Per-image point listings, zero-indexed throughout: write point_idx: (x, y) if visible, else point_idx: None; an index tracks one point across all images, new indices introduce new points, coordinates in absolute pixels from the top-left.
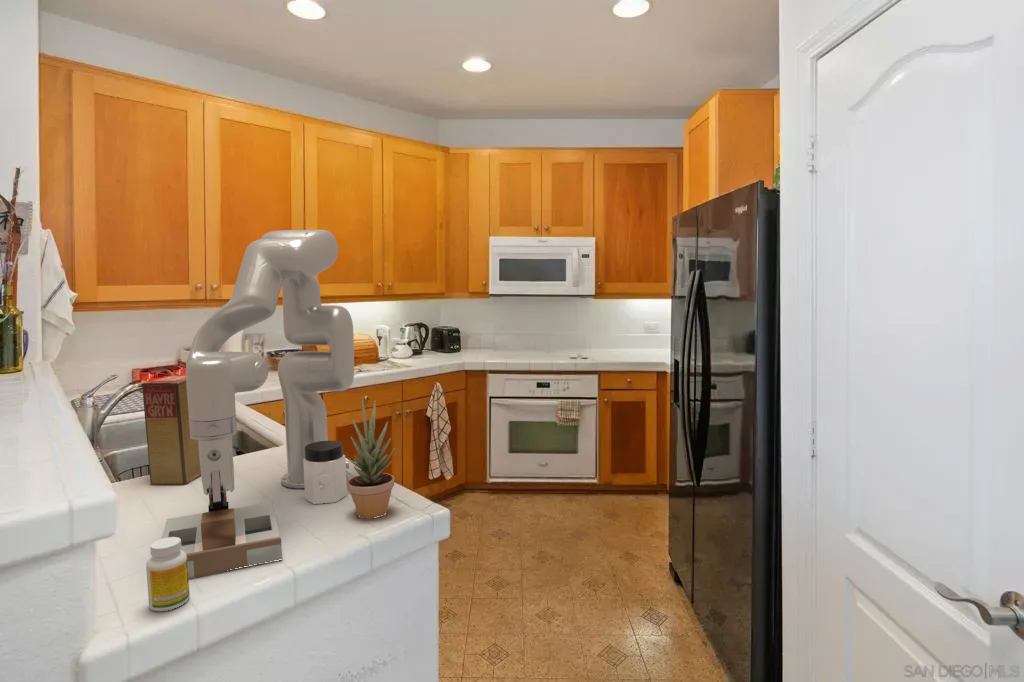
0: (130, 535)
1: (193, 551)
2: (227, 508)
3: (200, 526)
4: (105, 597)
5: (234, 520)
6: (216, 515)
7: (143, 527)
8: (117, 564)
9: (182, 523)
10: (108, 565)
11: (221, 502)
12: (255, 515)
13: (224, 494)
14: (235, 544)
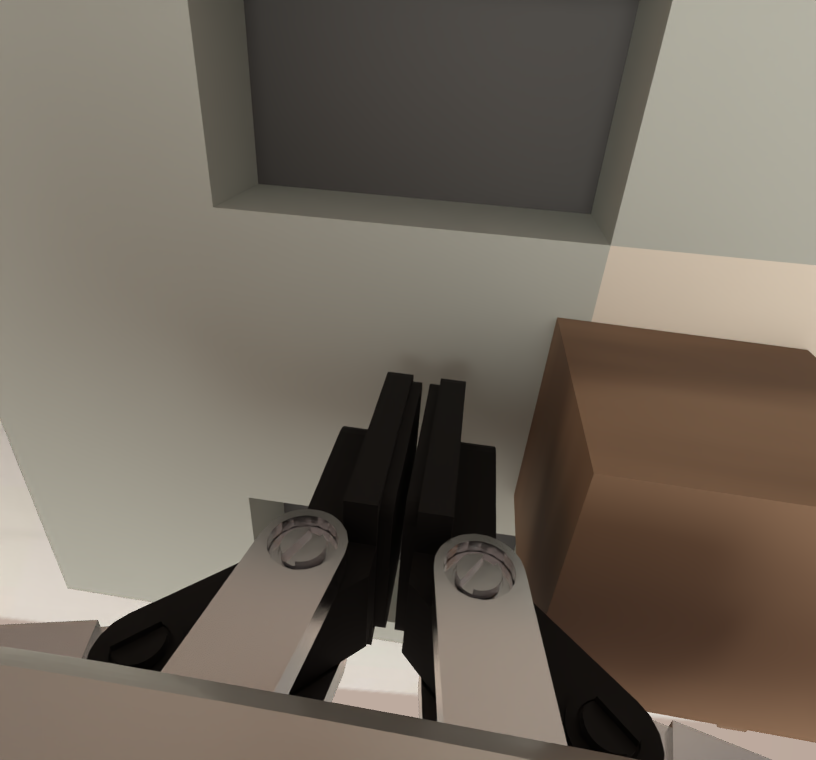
0: (96, 617)
1: None
2: (453, 489)
3: (250, 482)
4: (660, 715)
5: (647, 406)
6: (710, 634)
7: (18, 579)
8: (376, 668)
9: (161, 545)
10: (369, 685)
11: (580, 663)
12: (155, 92)
13: (554, 732)
14: (767, 343)
